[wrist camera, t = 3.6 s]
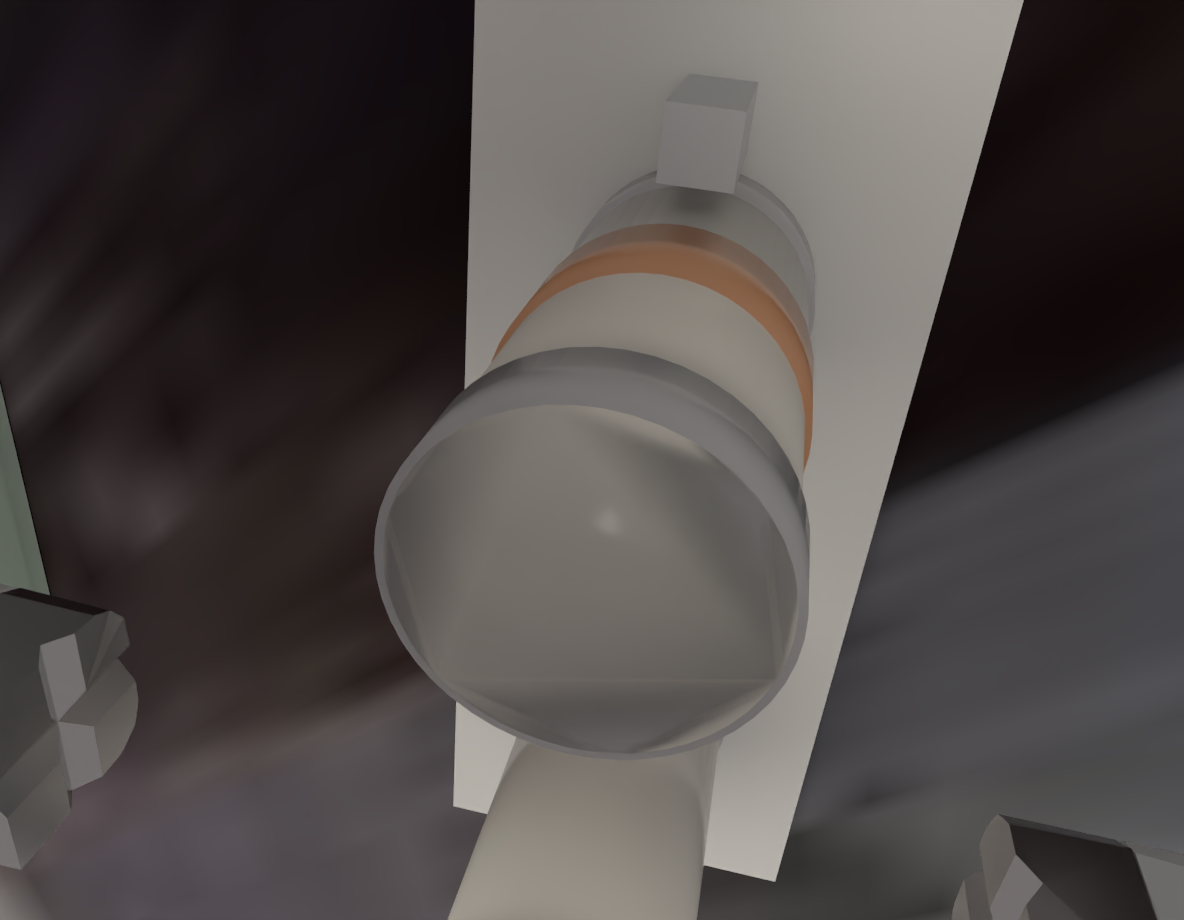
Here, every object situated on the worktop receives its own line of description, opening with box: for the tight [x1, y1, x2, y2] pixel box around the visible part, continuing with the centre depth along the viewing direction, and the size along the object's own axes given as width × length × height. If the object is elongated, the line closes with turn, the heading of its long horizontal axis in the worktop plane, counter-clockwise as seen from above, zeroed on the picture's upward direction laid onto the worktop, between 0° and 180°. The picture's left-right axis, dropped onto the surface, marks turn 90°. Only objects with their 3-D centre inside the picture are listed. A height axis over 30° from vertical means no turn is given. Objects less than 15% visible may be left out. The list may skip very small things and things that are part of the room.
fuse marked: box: [374, 171, 815, 760], centre depth 14 cm, size 5×5×10 cm
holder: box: [453, 0, 1024, 882], centre depth 18 cm, size 32×9×5 cm, turn 175°
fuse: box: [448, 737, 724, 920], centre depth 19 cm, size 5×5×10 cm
